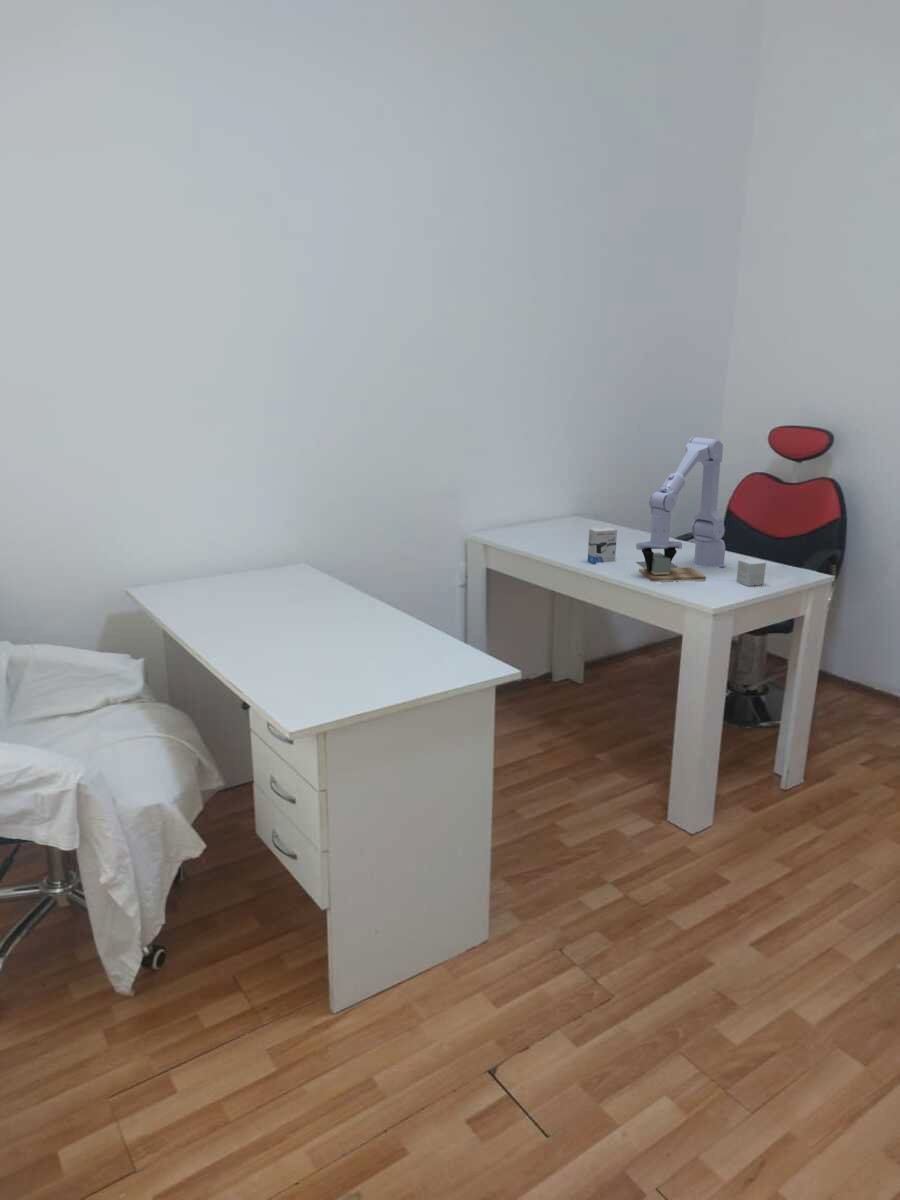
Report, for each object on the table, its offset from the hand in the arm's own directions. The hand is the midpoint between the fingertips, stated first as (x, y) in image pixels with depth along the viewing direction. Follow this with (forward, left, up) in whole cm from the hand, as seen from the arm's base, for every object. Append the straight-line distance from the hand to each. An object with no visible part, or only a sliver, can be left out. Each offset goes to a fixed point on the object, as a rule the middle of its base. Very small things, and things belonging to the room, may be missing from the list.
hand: (657, 570), depth 284 cm
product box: (-27, +10, -3) cm, 29 cm away
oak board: (-5, 0, -2) cm, 6 cm away
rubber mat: (-5, -13, -2) cm, 14 cm away
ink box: (+12, -22, -2) cm, 25 cm away
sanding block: (0, -1, 0) cm, 1 cm away
